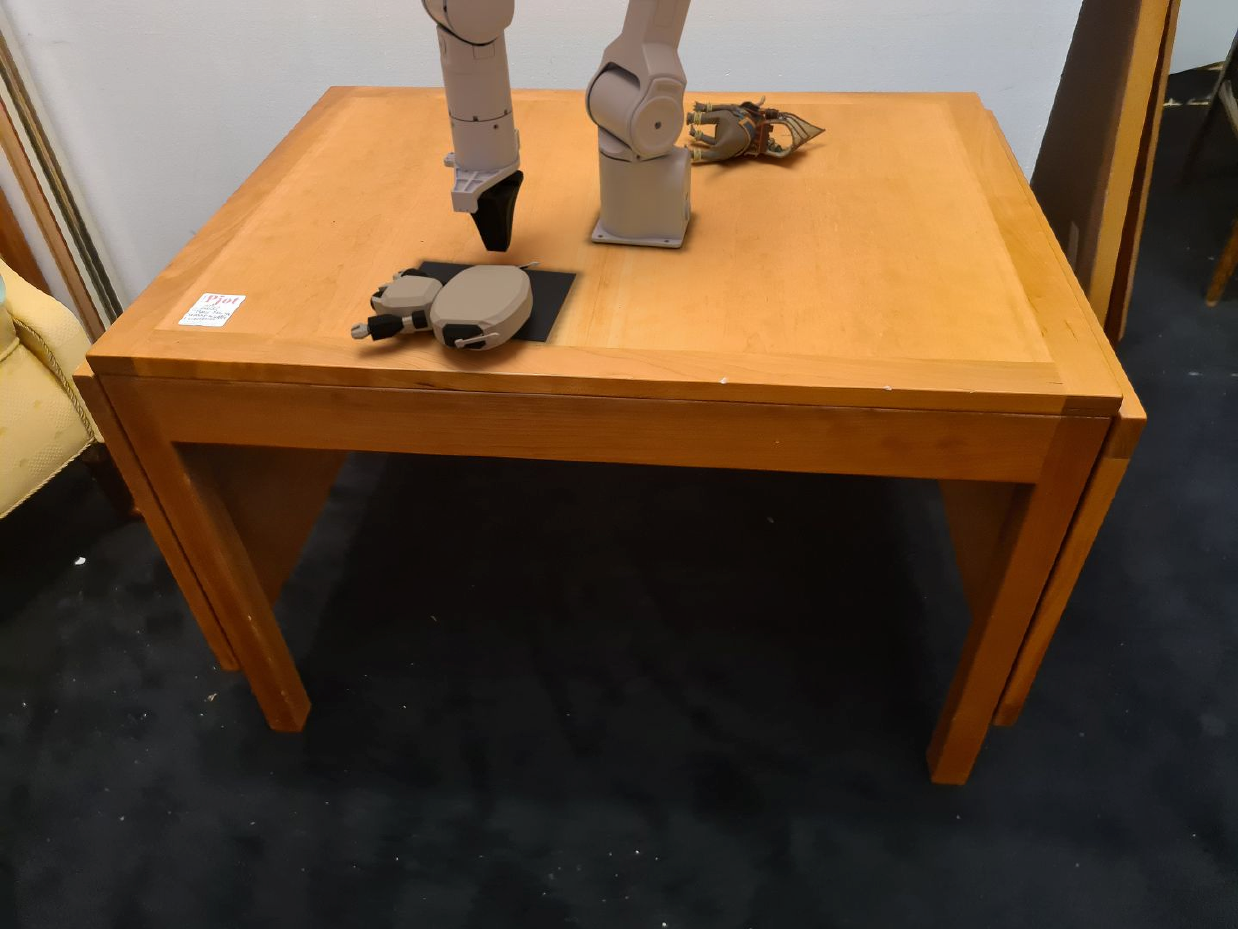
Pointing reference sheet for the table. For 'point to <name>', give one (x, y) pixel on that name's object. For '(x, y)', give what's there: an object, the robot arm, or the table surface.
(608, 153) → the robot arm
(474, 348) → the robot toy
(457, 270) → the mat
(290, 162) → the table surface
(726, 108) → the leather gauntlet glove
